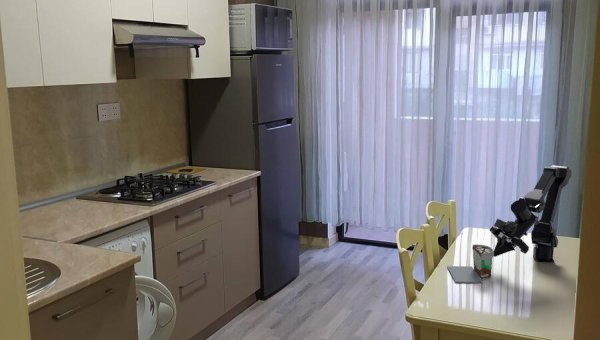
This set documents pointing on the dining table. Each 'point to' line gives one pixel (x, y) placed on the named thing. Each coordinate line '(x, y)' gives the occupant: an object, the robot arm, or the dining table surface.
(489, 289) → the dining table surface
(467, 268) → the grey rubber mat
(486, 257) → the food container
